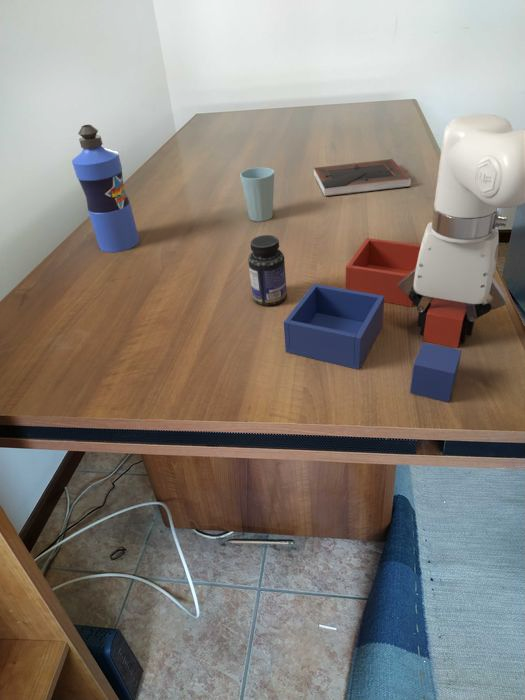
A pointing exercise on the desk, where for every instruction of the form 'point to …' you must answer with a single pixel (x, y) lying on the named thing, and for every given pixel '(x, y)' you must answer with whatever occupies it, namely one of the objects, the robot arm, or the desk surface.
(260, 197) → the cup
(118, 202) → the water bottle
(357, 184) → the hardcover book
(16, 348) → the desk surface
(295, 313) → the blue bin
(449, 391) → the blue block
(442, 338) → the red block
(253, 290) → the pill bottle
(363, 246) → the red bin
